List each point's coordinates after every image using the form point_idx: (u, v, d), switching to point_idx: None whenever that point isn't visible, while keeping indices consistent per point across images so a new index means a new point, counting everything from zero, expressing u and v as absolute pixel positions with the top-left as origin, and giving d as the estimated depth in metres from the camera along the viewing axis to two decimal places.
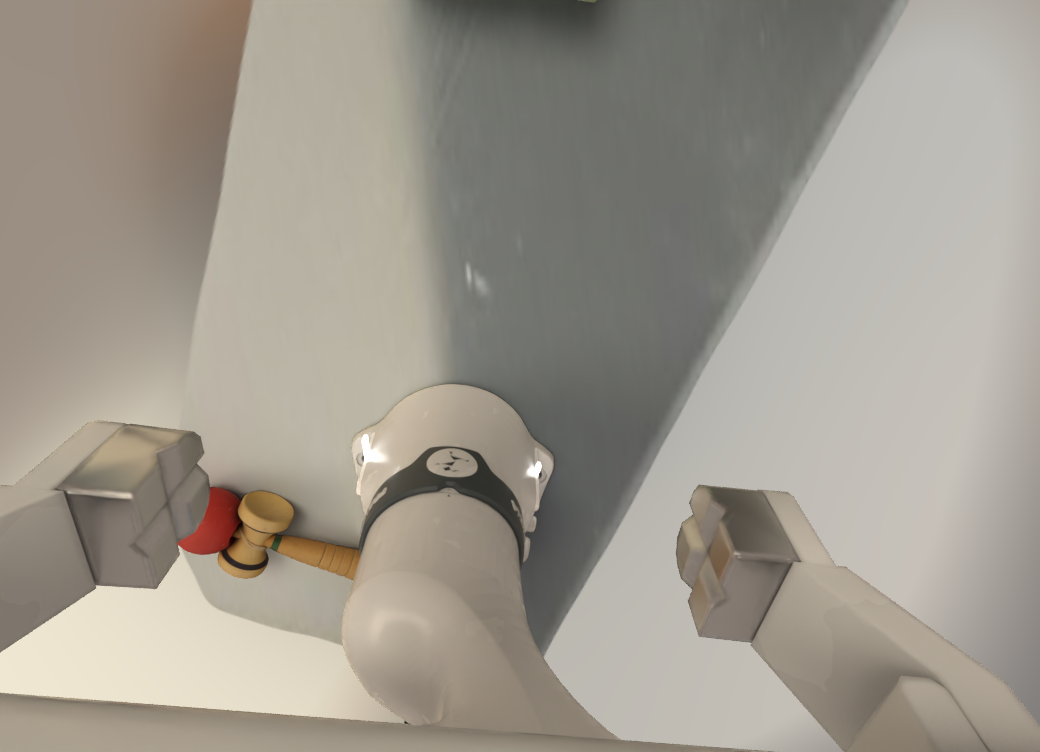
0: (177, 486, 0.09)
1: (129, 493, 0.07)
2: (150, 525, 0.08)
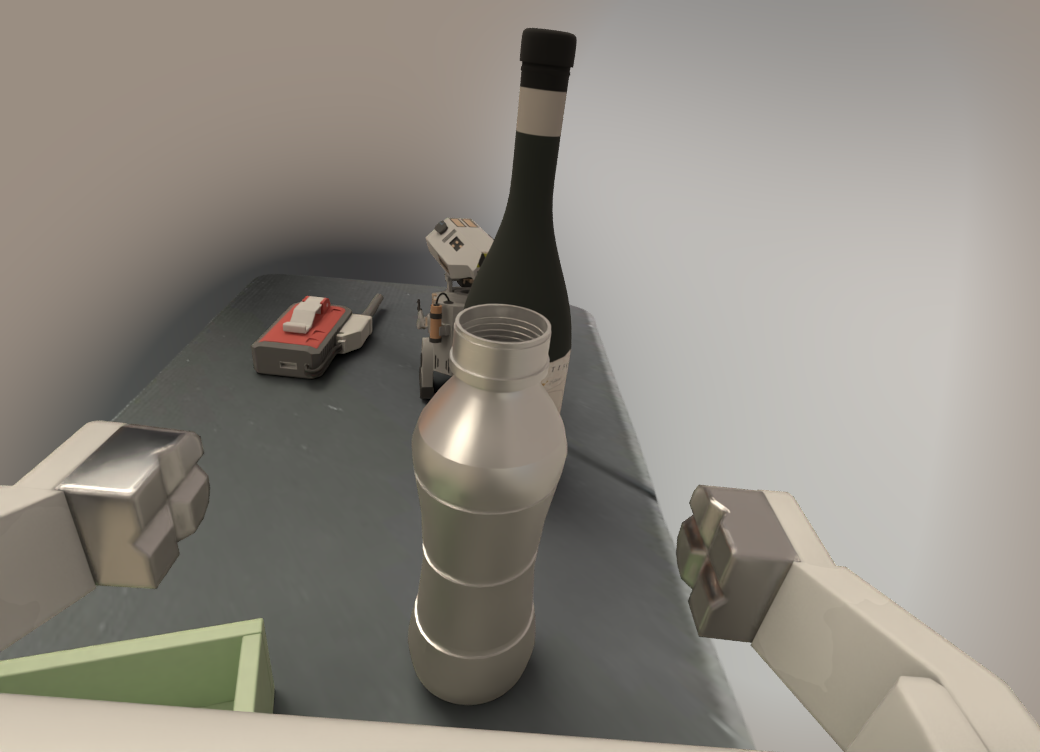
0: (177, 486, 0.09)
1: (128, 493, 0.07)
2: (150, 525, 0.08)
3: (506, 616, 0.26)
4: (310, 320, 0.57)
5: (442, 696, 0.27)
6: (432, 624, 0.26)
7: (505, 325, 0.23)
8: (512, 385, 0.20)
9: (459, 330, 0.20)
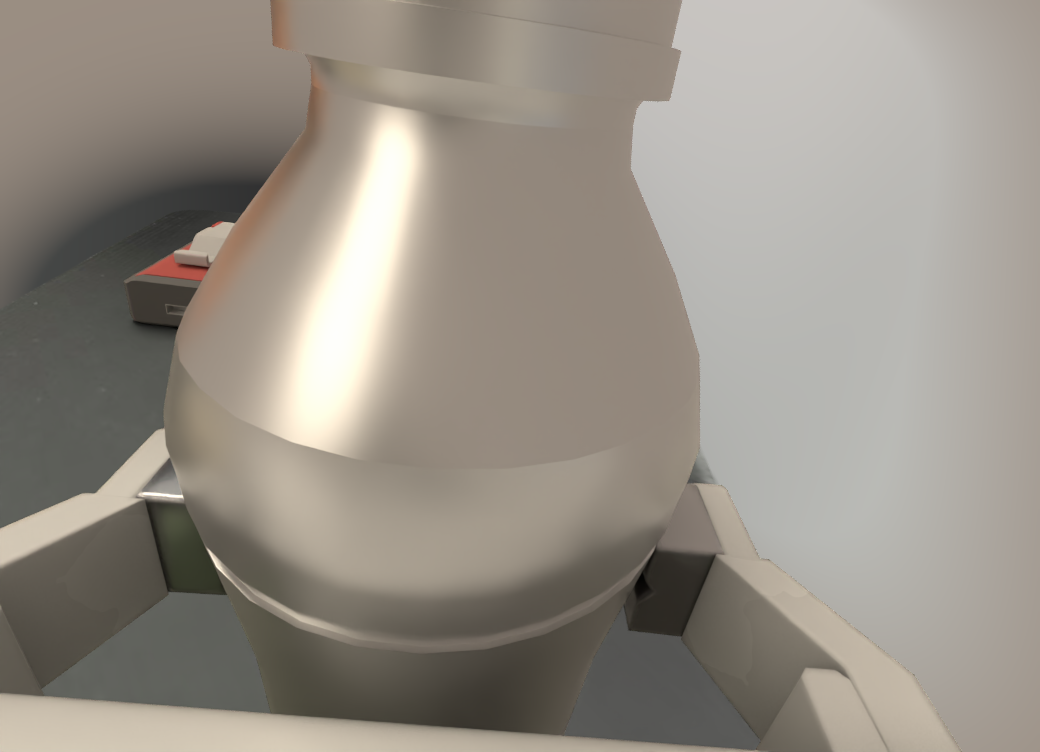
0: None
1: None
2: None
3: None
4: (218, 250, 0.40)
5: None
6: None
7: None
8: (545, 57, 0.04)
9: None
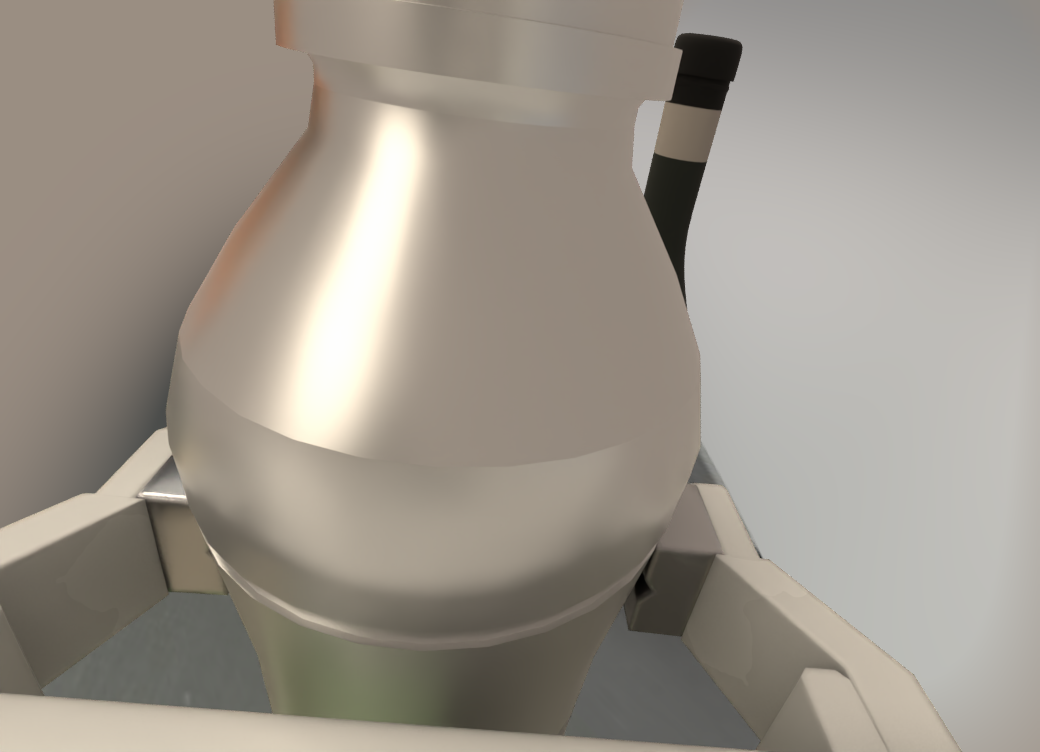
0: None
1: None
2: None
3: None
4: None
5: None
6: None
7: None
8: (547, 57, 0.04)
9: None
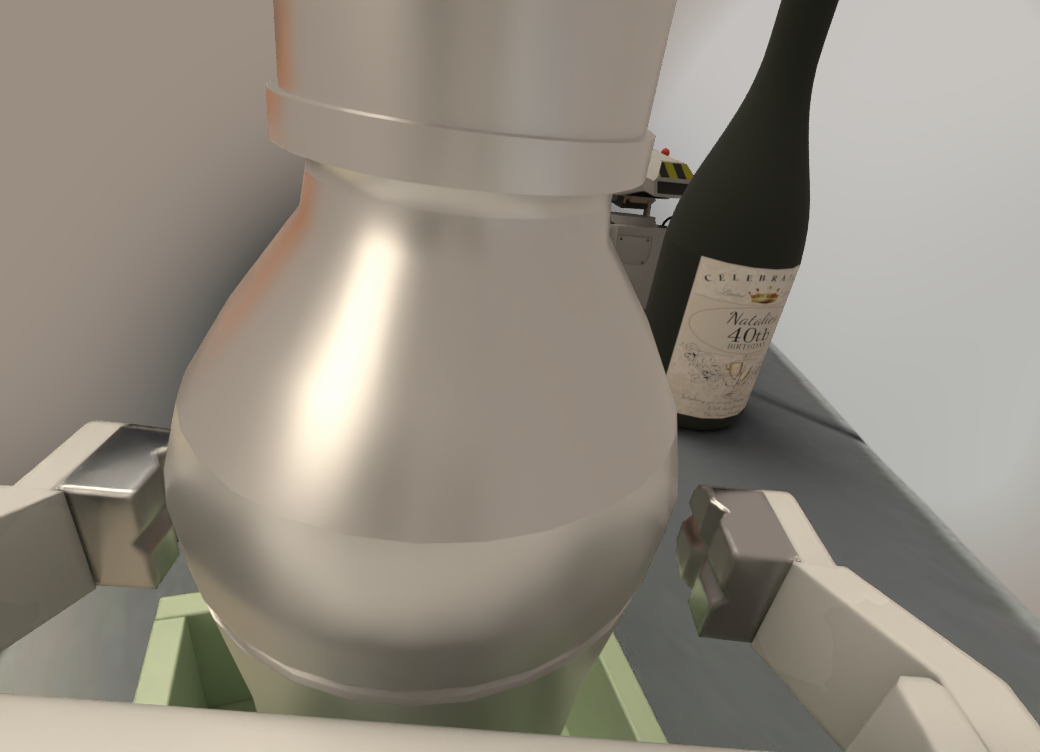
0: None
1: (129, 492, 0.07)
2: (150, 525, 0.08)
3: None
4: None
5: None
6: None
7: None
8: (521, 166, 0.04)
9: None
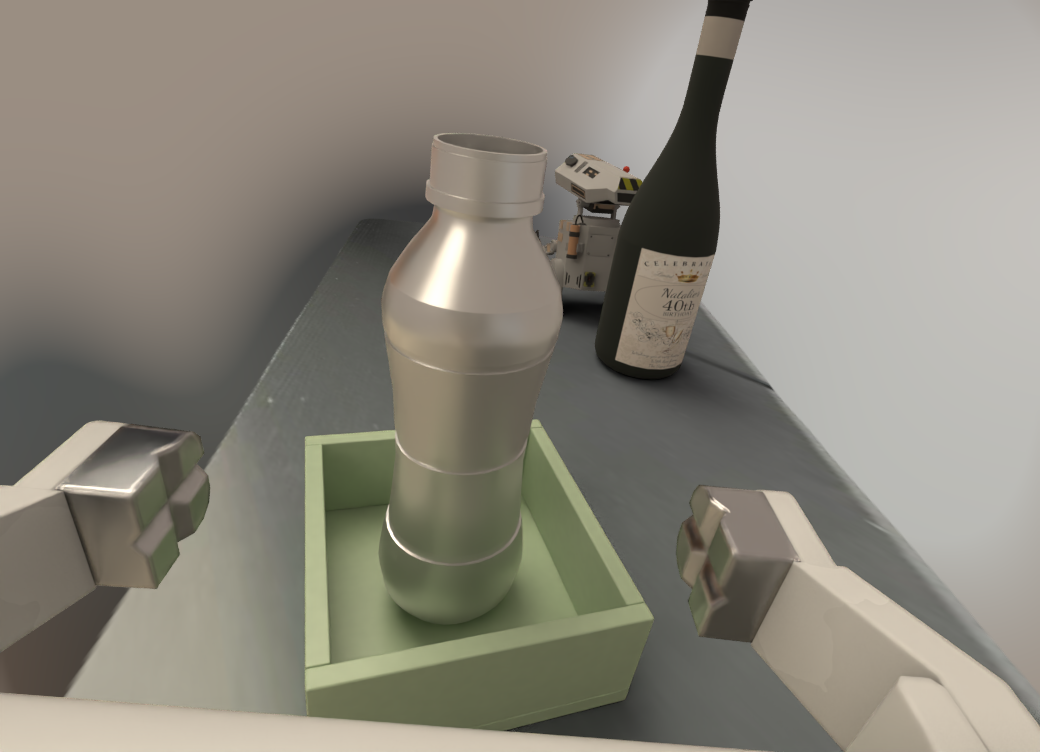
0: (177, 486, 0.09)
1: (129, 493, 0.07)
2: (150, 525, 0.08)
3: (490, 515, 0.22)
4: None
5: (416, 612, 0.24)
6: (405, 526, 0.23)
7: None
8: (500, 210, 0.17)
9: (437, 143, 0.17)
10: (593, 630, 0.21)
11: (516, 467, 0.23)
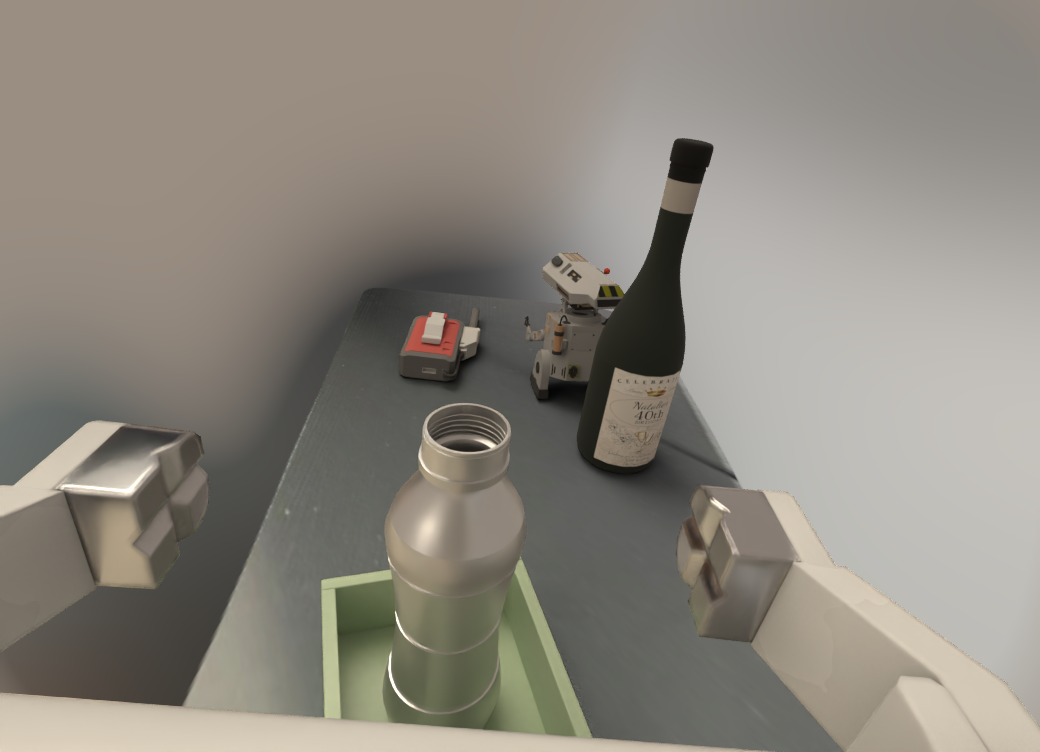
0: (177, 486, 0.09)
1: (129, 493, 0.07)
2: (150, 525, 0.08)
3: (471, 676, 0.28)
4: (440, 333, 0.69)
5: None
6: (403, 683, 0.29)
7: (471, 421, 0.25)
8: (474, 487, 0.23)
9: (426, 438, 0.23)
10: None
11: (492, 638, 0.28)
